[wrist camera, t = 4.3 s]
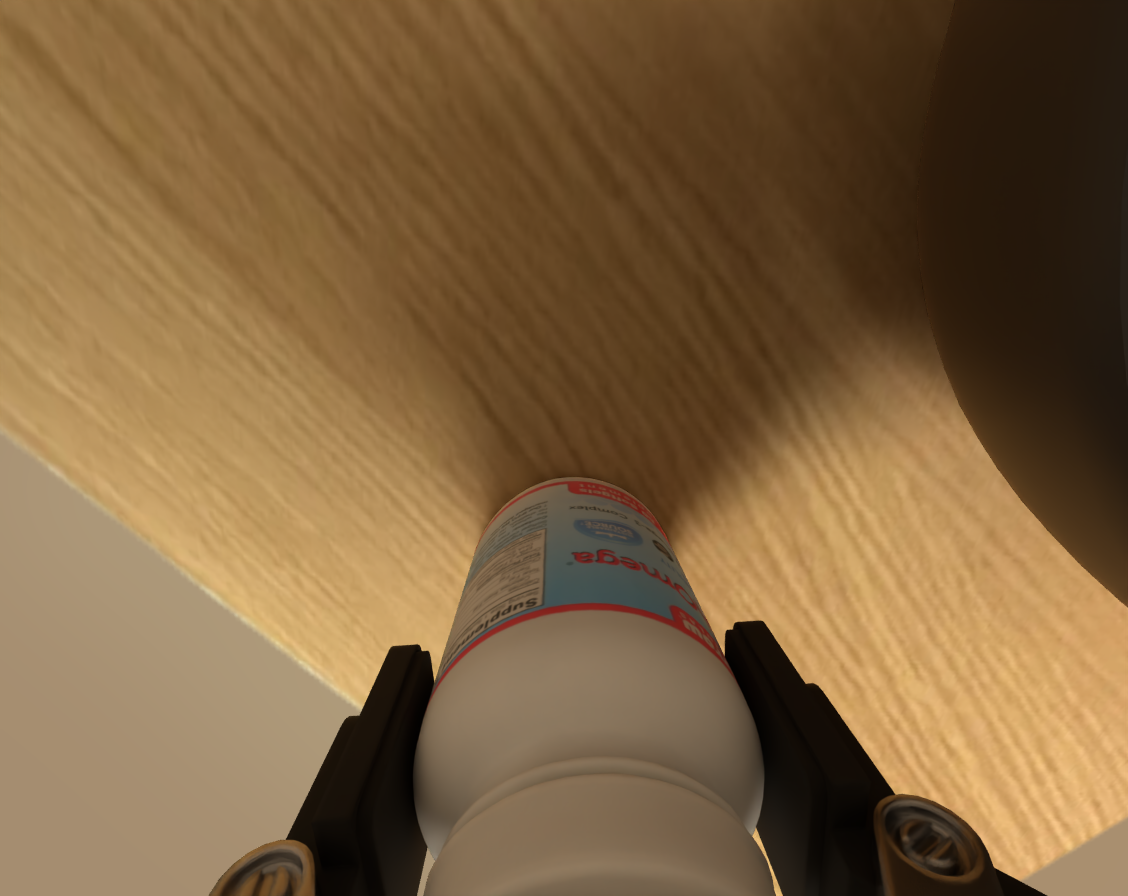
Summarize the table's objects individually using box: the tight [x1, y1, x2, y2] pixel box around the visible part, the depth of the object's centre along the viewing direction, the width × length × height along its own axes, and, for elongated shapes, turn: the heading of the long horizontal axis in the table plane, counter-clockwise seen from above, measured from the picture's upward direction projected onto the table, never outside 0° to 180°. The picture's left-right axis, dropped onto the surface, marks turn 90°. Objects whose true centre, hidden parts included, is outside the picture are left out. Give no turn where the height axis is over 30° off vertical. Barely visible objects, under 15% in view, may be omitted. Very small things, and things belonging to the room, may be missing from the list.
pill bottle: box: [413, 477, 776, 896], centre depth 12 cm, size 6×6×11 cm
